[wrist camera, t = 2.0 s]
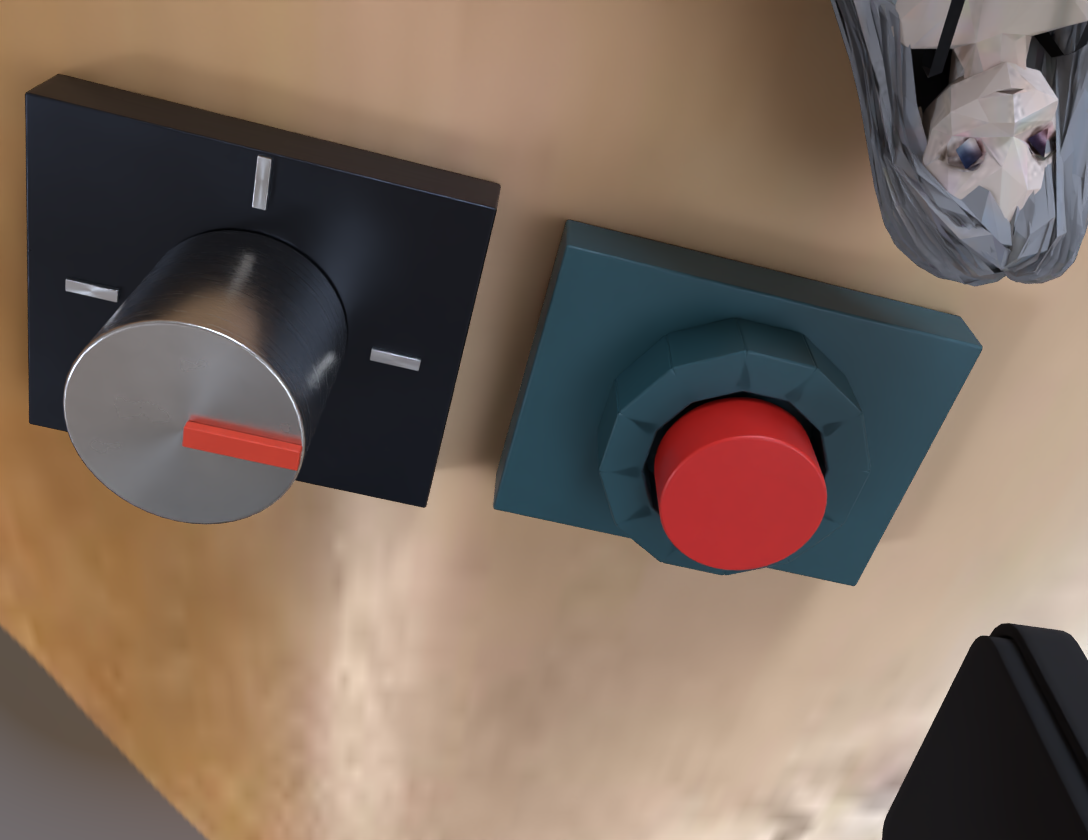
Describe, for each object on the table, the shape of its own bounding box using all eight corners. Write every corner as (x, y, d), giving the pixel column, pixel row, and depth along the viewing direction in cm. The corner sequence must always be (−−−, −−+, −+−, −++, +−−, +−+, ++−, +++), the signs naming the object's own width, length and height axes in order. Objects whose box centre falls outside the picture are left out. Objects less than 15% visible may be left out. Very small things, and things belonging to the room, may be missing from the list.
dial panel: (56, 390, 32) (25, 427, 31) (57, 73, 27) (21, 93, 25) (432, 472, 34) (425, 511, 32) (501, 183, 29) (496, 211, 27)
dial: (140, 386, 30) (55, 505, 25) (149, 206, 27) (55, 300, 22) (332, 429, 31) (286, 553, 26) (362, 257, 28) (317, 360, 23)
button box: (496, 473, 34) (487, 550, 30) (566, 217, 29) (566, 275, 26) (841, 548, 35) (871, 631, 32) (961, 315, 30) (1011, 382, 27)
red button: (634, 508, 30) (638, 553, 28) (681, 379, 28) (689, 420, 26) (778, 539, 30) (791, 585, 29) (836, 415, 28) (854, 457, 26)
